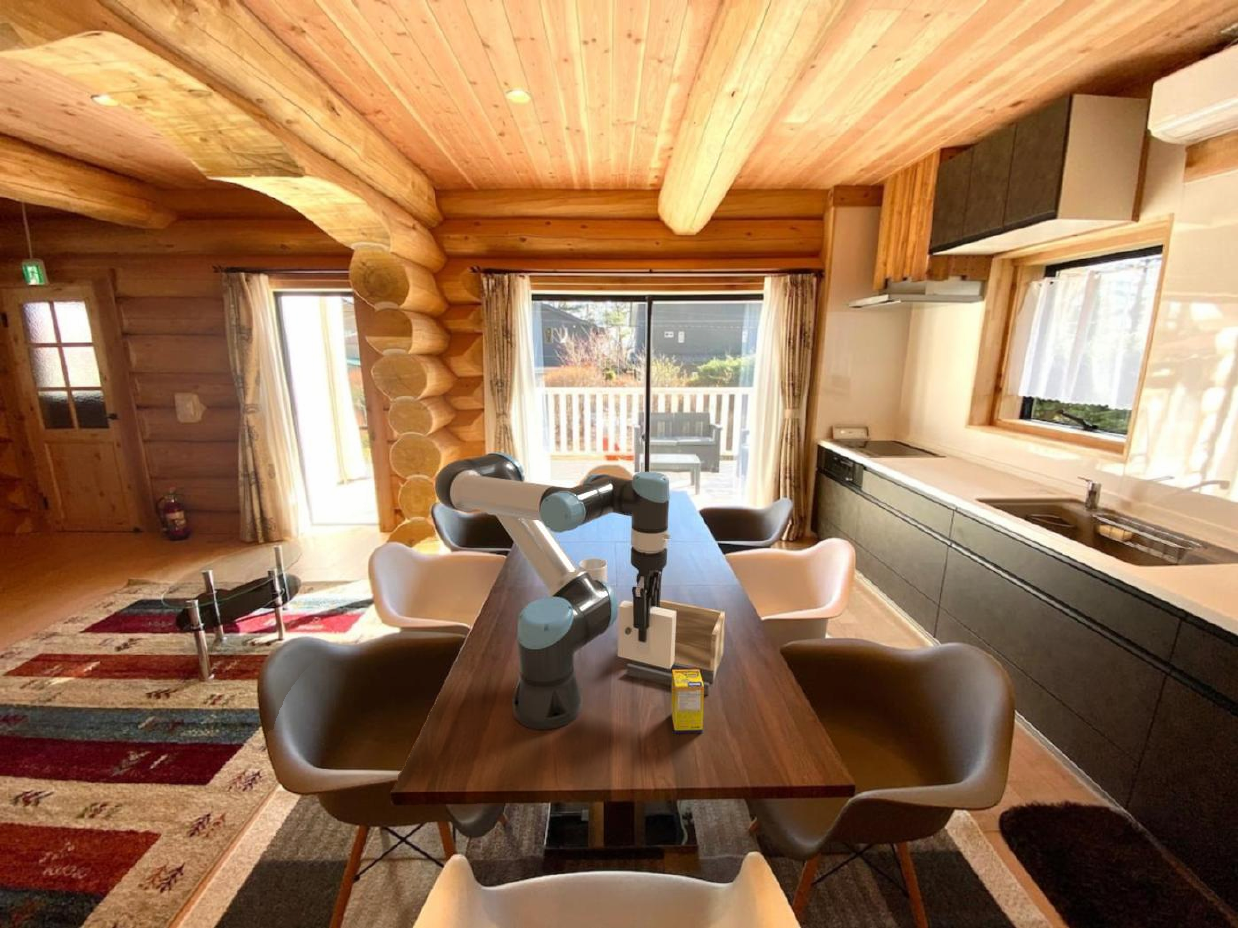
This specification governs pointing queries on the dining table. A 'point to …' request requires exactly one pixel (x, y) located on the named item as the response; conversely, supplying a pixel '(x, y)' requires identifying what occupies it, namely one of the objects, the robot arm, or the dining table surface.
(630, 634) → the door
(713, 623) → the carcass
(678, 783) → the dining table surface
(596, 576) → the mug
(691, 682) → the supplement box
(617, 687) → the dining table surface
